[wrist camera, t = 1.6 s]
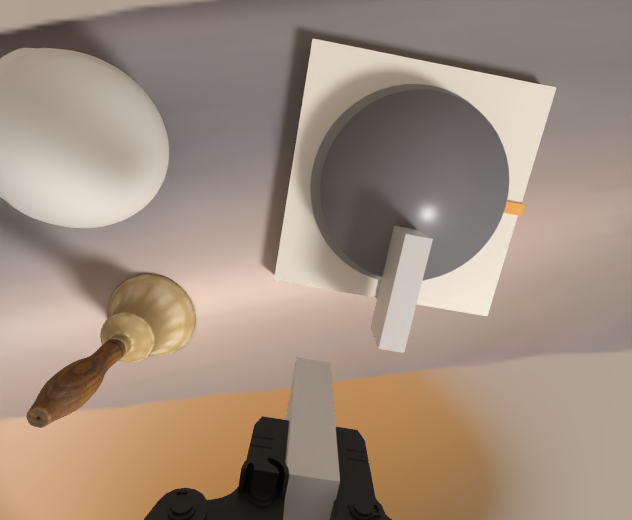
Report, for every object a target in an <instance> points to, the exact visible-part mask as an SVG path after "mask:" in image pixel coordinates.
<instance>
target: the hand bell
mask: <svg viewBox="0 0 632 520" xmlns="http://www.w3.org/2000/svg"><path fill="white" fill-rule="evenodd" d="M195 321H196V315H195V310H194V306H193V304H192V301H191V299H190V298H189V296H188V295H187V293H186V292H185V291H184V290H183V289H182V288H181V287H180V286H179V285H178V284H176V283H175V282H173V281H172V280H170V279H168V278H165V277H162V276H158V275H151V274H145V275H137V276H135V277H132V278H129V279H128V280H126V281H124V282H123V283H122V284H120V285H119V286H118V287H117V288H116V290H115V291H114V293H113V294H112V296H111V299H110V302H109V307H108V319H107V320H106V321H105V323H104V324H103V327H102V329H101V342H102V346H101V347H100V348H99V349H98V350H97V351H96V352H95V353H94V354H93V355H91V356H90V357H87V358H84V359H81V360H78V361H76V362H73V363H72V364H70V365H68V366H66V367H65V368H63V369H62V370H60V371H59V372H58V373H57V374H55V375H54V376H53V377H52V378H51V379H50V380H49V381H48V382H47V383H46V384H45V385H44V387H43V388H42V390H41V391H40V393H39V395H38V397H37V399H36V401H35V402H34V404H33V406H32V407H31V408H30V410H29V411H28V412H27V420H28V422H29V423H30V424H31V425H32V426H35V427H40V428H41V427H44V426H46V425H48V424H50V423H51V422H53V421H55V420H57V419H59V418H62V417H64V416H66V415H68V414H70V413H72V412H74V411H75V410H77V409H79V408H80V407H81V406H82V405H84V404H85V403H86V402H87V401H88V400H89V399H90V397H91V396H92V395H93V394H94V393H95V392H96V390H97V389H98V388H99V386H100V384H101V382H102V380H103V378H104V375H105V373H106V371H107V370H108V369H109V368H110V367H111V366H112V365H113V364H115V363H116V362H117V361H118V360H119V361H122V362H137V361H140V360H142V359H144V358H145V357H147V356H163V355H168V354H171V353H173V352H175V351H177V350H179V349H180V348H182V347H183V346H184V345H185V344H186V343H187V342H188V340H189V339H190V337H191V336H192V334H193V331H194V328H195Z"/></svg>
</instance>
